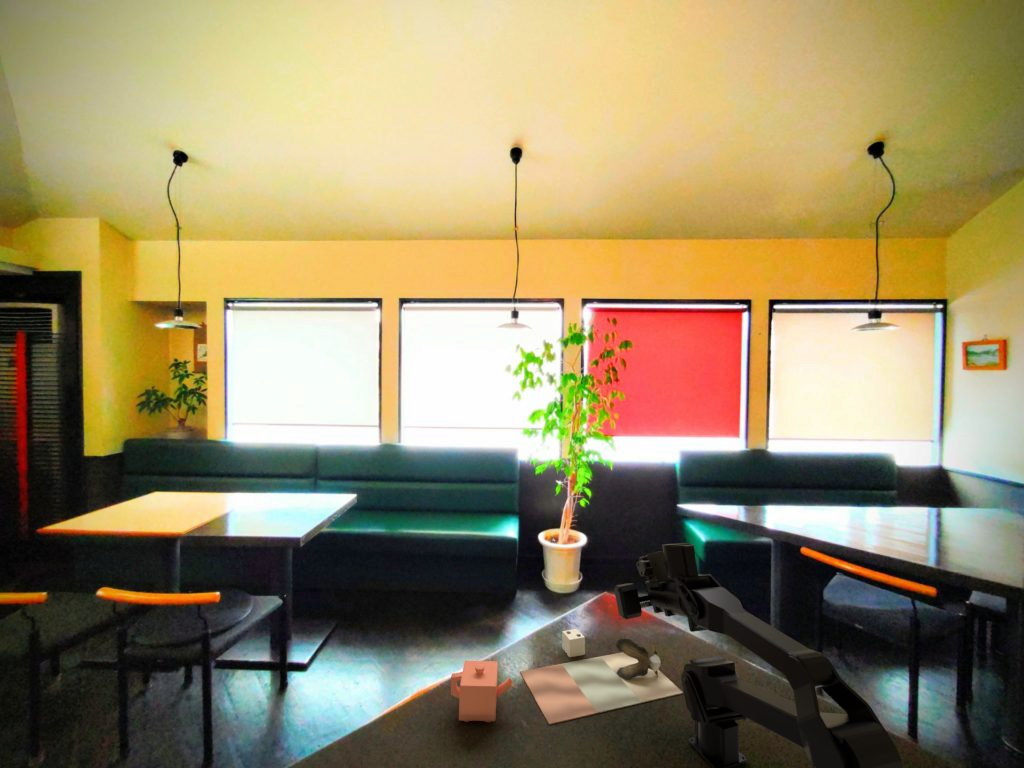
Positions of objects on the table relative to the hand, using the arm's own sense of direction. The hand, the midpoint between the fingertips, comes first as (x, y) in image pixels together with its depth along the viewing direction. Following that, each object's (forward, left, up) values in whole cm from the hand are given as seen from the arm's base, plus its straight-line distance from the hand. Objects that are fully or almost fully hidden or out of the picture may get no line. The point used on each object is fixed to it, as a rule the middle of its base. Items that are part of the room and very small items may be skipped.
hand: (637, 590), depth 96 cm
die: (+9, +12, -16) cm, 22 cm away
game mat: (-3, +12, -16) cm, 21 cm away
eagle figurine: (-3, +2, -16) cm, 17 cm away
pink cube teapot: (-4, +38, -17) cm, 42 cm away
